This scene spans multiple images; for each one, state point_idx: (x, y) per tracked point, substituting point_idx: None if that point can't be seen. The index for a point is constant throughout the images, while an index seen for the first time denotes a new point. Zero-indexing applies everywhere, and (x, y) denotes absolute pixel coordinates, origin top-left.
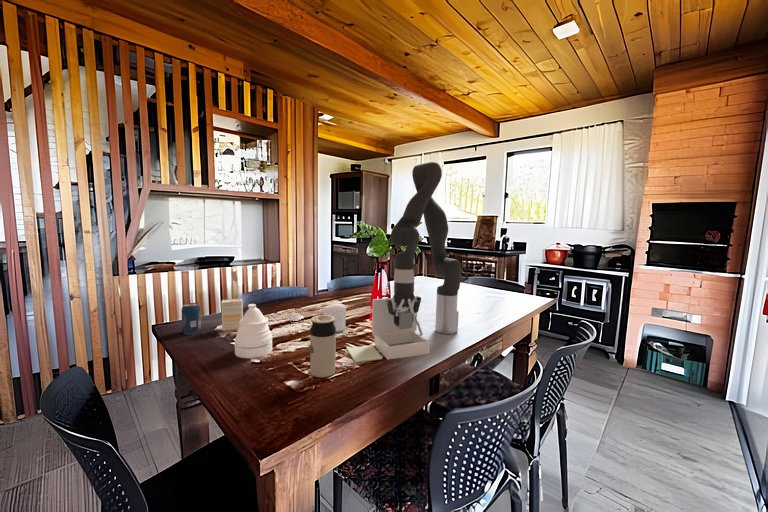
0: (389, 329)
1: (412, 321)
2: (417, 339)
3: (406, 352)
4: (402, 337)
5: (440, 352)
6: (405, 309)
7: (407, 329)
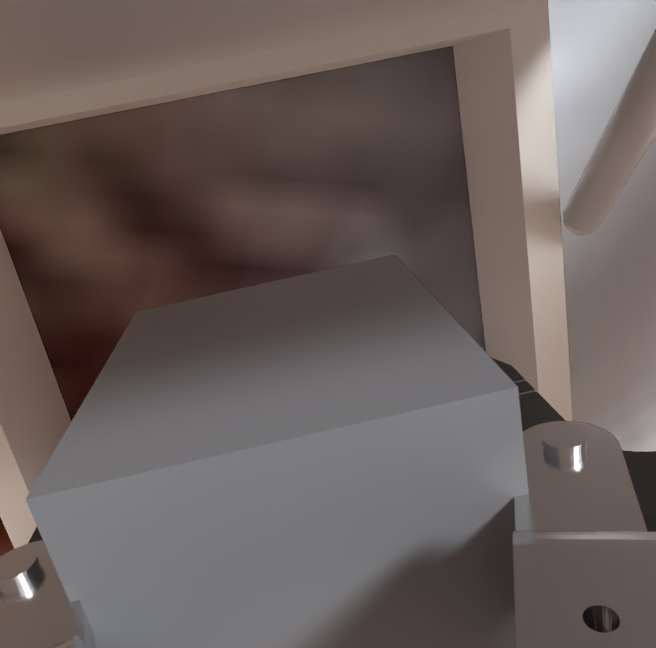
0: (78, 82)
1: None
2: (498, 205)
3: None
4: (322, 68)
5: (632, 376)
6: (445, 440)
7: (434, 16)
